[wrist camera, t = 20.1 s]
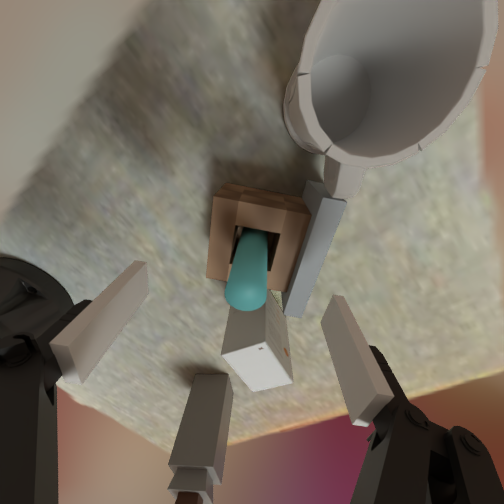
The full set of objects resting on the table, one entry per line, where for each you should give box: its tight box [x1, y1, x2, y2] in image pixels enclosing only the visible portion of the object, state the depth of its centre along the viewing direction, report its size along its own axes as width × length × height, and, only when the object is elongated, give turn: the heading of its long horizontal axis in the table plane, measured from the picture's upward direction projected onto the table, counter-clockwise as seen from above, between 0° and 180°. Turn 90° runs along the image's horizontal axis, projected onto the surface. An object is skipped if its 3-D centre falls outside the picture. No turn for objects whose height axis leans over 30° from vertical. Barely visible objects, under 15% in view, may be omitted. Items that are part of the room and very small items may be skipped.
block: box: [206, 183, 312, 292], centre depth 24 cm, size 9×9×6 cm
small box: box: [221, 289, 293, 392], centre depth 29 cm, size 8×6×10 cm
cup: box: [283, 0, 498, 199], centre depth 16 cm, size 10×9×12 cm
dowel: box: [225, 226, 268, 311], centre depth 20 cm, size 3×3×12 cm
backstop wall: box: [281, 180, 347, 318], centre depth 24 cm, size 2×13×8 cm, turn 170°
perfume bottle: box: [168, 374, 233, 504], centre depth 36 cm, size 7×7×18 cm
